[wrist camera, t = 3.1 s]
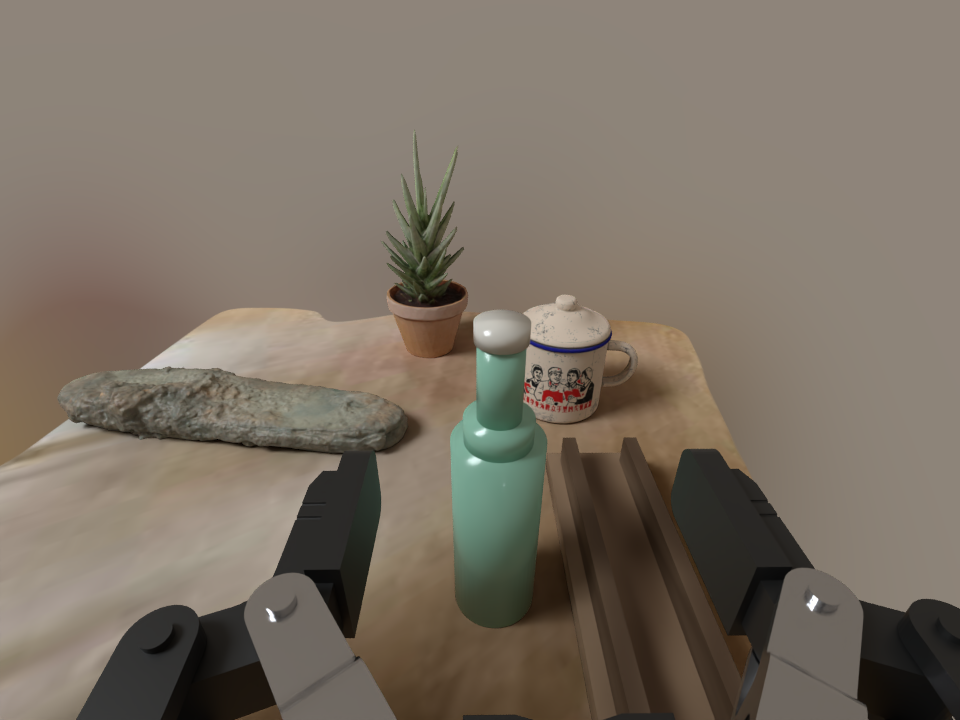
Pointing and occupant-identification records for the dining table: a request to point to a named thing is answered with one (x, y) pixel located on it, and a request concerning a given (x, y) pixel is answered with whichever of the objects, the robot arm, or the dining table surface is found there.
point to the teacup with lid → (569, 360)
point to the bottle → (497, 478)
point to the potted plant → (425, 273)
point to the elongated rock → (233, 410)
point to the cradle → (635, 592)
